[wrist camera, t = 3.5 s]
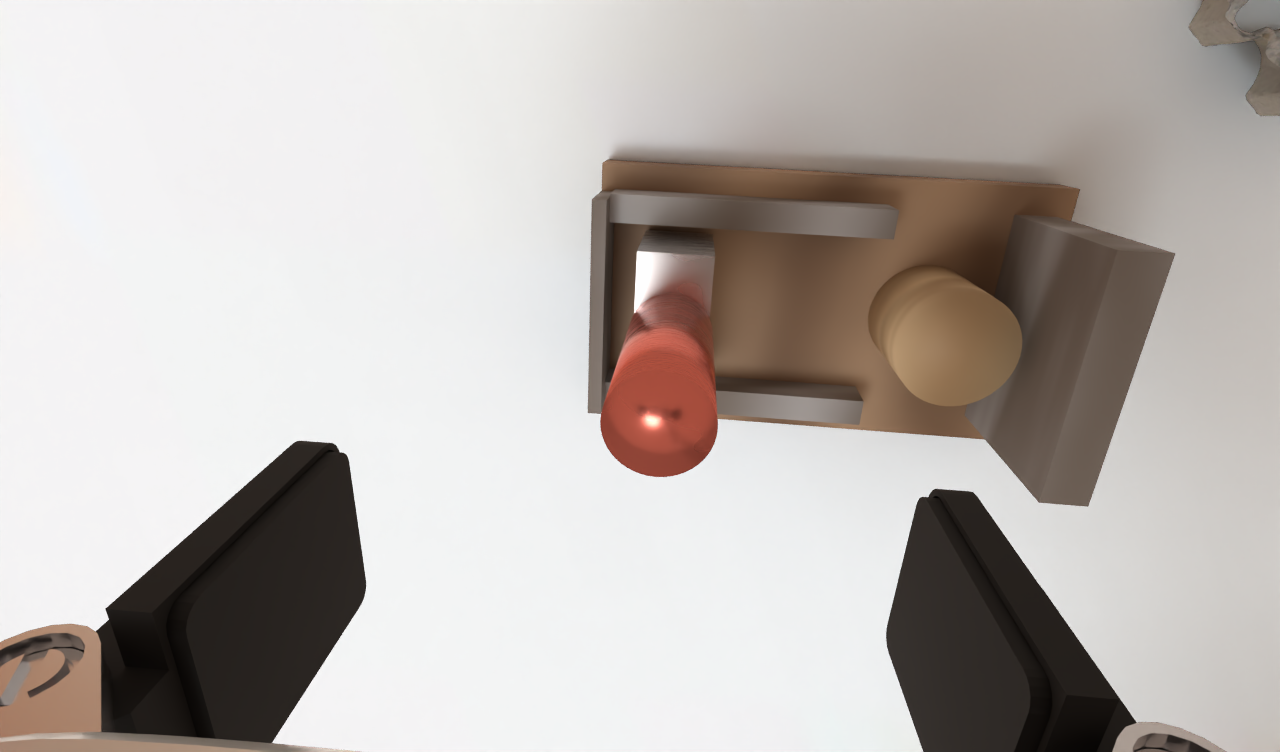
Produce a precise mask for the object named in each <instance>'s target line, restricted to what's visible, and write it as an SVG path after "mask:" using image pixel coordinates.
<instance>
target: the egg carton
mask: <svg viewBox="0 0 1280 752" xmlns="http://www.w3.org/2000/svg"><path fill="white" fill-rule="evenodd" d="M1248 1H1249V0H1203V1H1202V4H1201V6H1200V9H1199V10H1198V12H1197V13H1196V15H1195V17H1194V18H1193V20H1192V21H1191V23H1190V25H1189V29H1190V30H1191V32H1192V33H1193V35H1194V36H1195V37H1196V38H1197V39H1198V40H1199V42H1200V44H1201V45H1202V46H1205V47H1206V46H1212V45H1218V44H1232V43H1240V42H1246V41H1252V40H1253V41H1255V42H1256V44H1257V45H1258V47H1259V49H1260V53H1261V65H1260V70H1259V73H1258V76H1257V78H1256V80H1255V82H1254V84H1253V85H1252V87H1251V88H1250V90H1249V91H1248V93H1247V94H1246V98H1247V101H1248V102H1249V103H1250V104H1251V106H1252V107H1253V108H1254V109H1255V111H1256V113H1257V114H1259V115H1260V116H1277V115H1278V116H1280V29H1277V30H1272V29H1271V28H1268V27H1265V28H1262V29H1260V30H1257V31H1255V32H1252V33H1248V32H1245V31H1242V30H1241V29H1240V28H1239V27H1238V25H1237V23H1236V21H1235V19H1234V18H1235V15H1236V13H1237V12H1238V11H1239V9H1240V8H1241V7H1242V6H1243V5H1244V4H1246V3H1247V2H1248Z"/></svg>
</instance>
